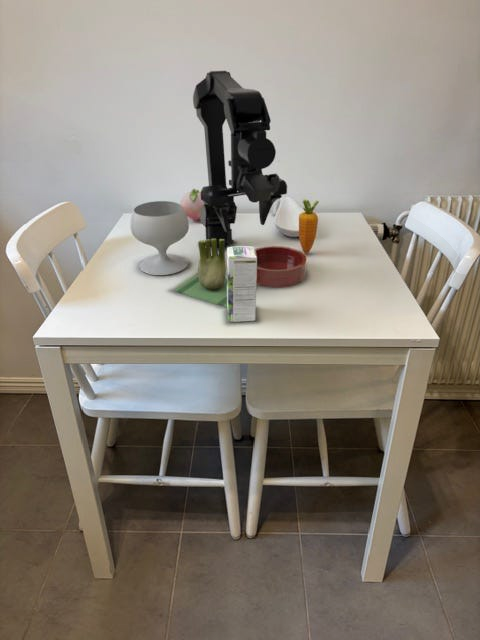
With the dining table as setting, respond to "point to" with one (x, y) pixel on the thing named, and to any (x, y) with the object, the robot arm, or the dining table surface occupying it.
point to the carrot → (308, 226)
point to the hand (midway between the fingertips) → (244, 228)
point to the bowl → (280, 266)
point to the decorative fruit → (192, 204)
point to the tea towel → (203, 291)
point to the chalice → (160, 234)
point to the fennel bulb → (212, 264)
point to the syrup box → (241, 283)
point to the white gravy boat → (287, 216)
